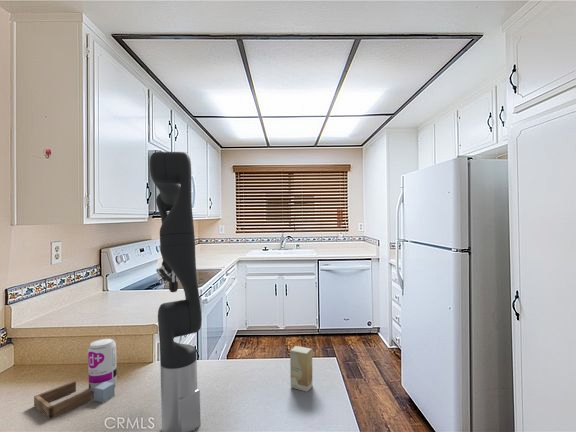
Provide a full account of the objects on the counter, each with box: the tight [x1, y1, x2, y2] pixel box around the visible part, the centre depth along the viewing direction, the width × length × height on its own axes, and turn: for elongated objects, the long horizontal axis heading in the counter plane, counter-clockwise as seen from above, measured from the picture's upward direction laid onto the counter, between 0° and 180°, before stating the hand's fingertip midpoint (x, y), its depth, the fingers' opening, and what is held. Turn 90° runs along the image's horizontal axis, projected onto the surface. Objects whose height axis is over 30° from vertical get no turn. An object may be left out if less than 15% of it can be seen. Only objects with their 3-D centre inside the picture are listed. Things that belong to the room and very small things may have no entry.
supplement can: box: [87, 337, 118, 393], centre depth 108 cm, size 8×8×15 cm
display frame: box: [33, 380, 92, 420], centre depth 98 cm, size 12×11×3 cm
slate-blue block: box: [93, 382, 116, 403], centre depth 100 cm, size 4×4×4 cm
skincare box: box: [289, 345, 313, 393], centre depth 103 cm, size 6×4×12 cm
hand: (173, 291), depth 119 cm, fingers closed
